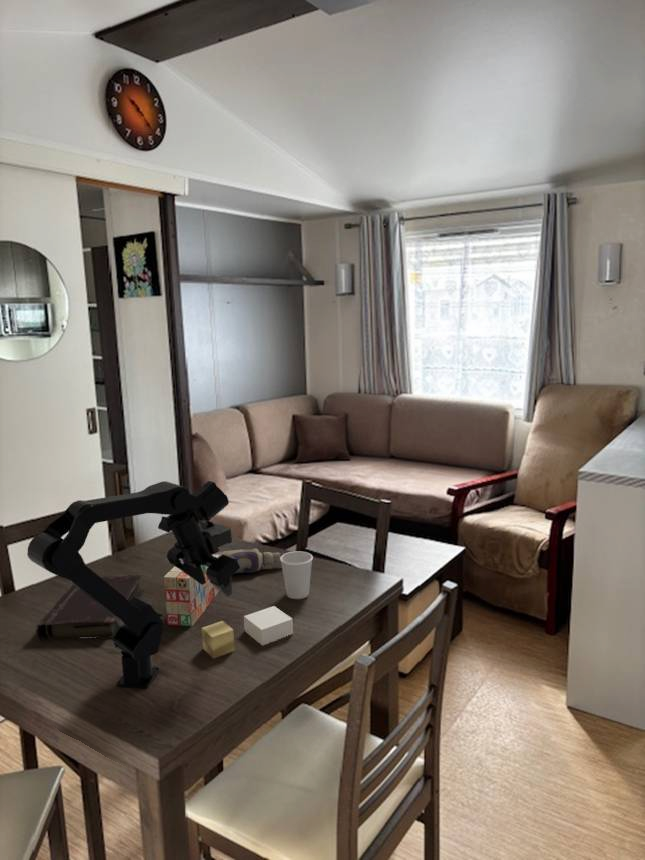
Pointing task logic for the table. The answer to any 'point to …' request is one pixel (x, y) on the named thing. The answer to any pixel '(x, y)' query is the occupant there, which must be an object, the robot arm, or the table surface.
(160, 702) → the table surface
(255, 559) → the decorative bottle
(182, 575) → the stack of blocks
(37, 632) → the diary
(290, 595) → the dixie cup
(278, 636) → the ivory block
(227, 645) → the mustard cube
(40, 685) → the table surface
